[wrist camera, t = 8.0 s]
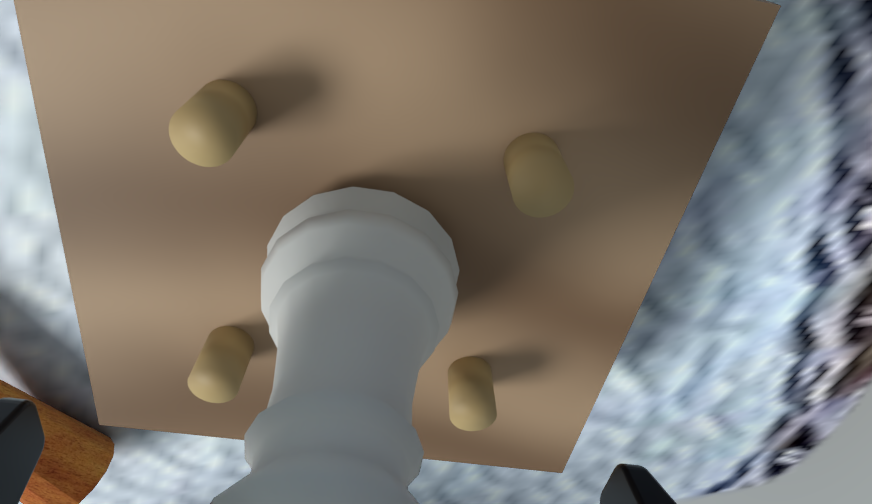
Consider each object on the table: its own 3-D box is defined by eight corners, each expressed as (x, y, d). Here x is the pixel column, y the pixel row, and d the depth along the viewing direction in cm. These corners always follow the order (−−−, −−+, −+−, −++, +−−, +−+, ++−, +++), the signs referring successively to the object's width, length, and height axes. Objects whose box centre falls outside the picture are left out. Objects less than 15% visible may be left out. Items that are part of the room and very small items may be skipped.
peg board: (540, 380, 22) (572, 516, 17) (153, 333, 20) (72, 469, 15) (696, -24, 14) (827, 21, 9) (100, -147, 13) (-88, -164, 8)
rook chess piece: (253, 305, 14) (101, 677, 8) (294, 149, 12) (133, 475, 5) (420, 351, 15) (417, 720, 9) (488, 213, 13) (556, 562, 6)
